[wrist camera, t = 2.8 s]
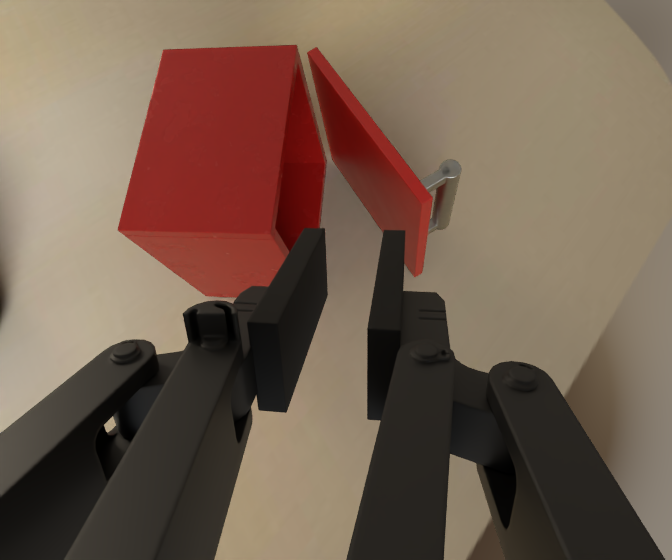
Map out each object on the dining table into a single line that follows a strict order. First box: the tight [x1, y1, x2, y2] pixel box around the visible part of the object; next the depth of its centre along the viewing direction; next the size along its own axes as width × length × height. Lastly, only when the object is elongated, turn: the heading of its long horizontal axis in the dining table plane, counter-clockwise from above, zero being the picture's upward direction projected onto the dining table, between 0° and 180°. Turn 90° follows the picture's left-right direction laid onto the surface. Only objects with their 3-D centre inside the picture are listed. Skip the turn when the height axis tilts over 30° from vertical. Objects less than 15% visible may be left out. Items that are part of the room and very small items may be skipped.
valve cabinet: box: [118, 45, 327, 298], centre depth 36 cm, size 10×14×14 cm
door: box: [307, 47, 461, 277], centre depth 36 cm, size 4×14×13 cm, turn 30°
